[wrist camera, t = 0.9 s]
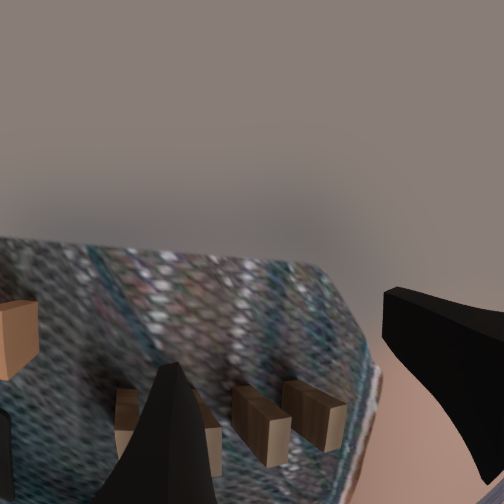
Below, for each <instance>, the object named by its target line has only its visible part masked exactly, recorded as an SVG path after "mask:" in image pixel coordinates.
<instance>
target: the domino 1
mask: <svg viewBox="0 0 504 504" xmlns="http://www.w3.org/2000/svg"><path fill="white" fill-rule="evenodd" d="M39 353H40V352H39V337H38V302H36V301H28V300H16V301H11V302H7V303H2V304H0V379H1V380H6V381H9V380H10V379H11V378H12V377H13V376H14V375H15V374H16V373H17V372H18V371H20V370H21V369H22V368H23V367H24V366H25V365H26V364H27V363H28V362H29V361H31V360H32V359H33V358H34V357H35V356H36V355H37V354H39Z"/></svg>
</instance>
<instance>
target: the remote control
mask: <svg viewBox="0 0 504 504" xmlns="http://www.w3.org/2000/svg"><path fill="white" fill-rule="evenodd" d="M0 497H1V498H3V499H5V500H7V501H10V502H13V501H14V499H15V497H16V496H15V488H14V479H13V468H12V451H11V417H10V415H9V414H8V413H7V412H6V411H5V410H3V409H1V408H0Z"/></svg>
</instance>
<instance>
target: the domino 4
mask: <svg viewBox="0 0 504 504" xmlns="http://www.w3.org/2000/svg"><path fill="white" fill-rule="evenodd" d="M291 420H292V417H291V416H290V415H288V414H287V413H286V412H284V411H283V410H282V409H280V408H279V407H278V406H276V405H275V404H274V403H272V402H271V401H270V400H269V399H267V398H266V397H265V396H263V395H262V394H261V393H260V392H258V391H257V390H256V389H254V388H253V387H252V386H251V385H246V386H234V387H233V390H232V428H233V429H234V430H235V431H236V433H237V434H238V435H239V436H240V438H241V439H242V440H243V441H244V442H245V444H246V445H247V446H248V447H249V448H250V450H251V451H252V452H253V453H254V454H255V455H256V457H257V458H258V459H259V460H260V461H261V462H262V463H263V465H264V466H265V467H266V468H268V467H273V466H277V465H281V464H286V463H287V459H288V450H289V440H290V430H291Z"/></svg>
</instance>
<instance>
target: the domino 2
mask: <svg viewBox="0 0 504 504" xmlns="http://www.w3.org/2000/svg"><path fill="white" fill-rule="evenodd" d="M139 419H140V416H139V407H138V397H137V389H122V388H117V395H116V409H115V427H114V431H115V438H116V445H117V451H118V457H119V459H120V458H121V456H122V454H123V452H124V450H125V448H126V446H127V444H128V442H129V440H130V438H131V436H132V434H133V432H134V430H135V427H136V425H137V423H138V421H139Z"/></svg>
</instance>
